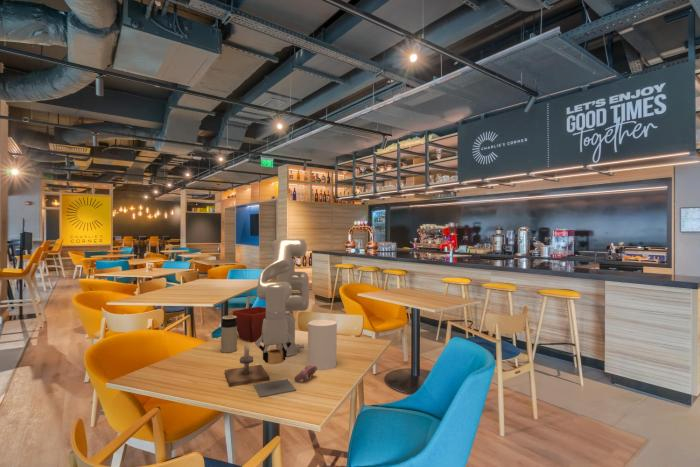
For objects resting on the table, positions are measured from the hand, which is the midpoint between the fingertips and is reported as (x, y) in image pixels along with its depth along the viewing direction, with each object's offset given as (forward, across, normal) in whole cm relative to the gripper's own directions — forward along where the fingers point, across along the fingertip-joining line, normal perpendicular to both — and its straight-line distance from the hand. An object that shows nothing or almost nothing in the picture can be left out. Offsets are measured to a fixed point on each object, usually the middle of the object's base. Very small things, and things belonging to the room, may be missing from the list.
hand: (274, 360), depth 141 cm
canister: (+11, -27, -17) cm, 34 cm away
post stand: (+11, +8, -17) cm, 22 cm away
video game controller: (+11, -15, -4) cm, 19 cm away
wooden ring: (0, 0, 0) cm, 0 cm away
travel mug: (+11, +10, -58) cm, 60 cm away
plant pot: (+11, -7, -77) cm, 78 cm away
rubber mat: (+11, 0, 0) cm, 11 cm away
